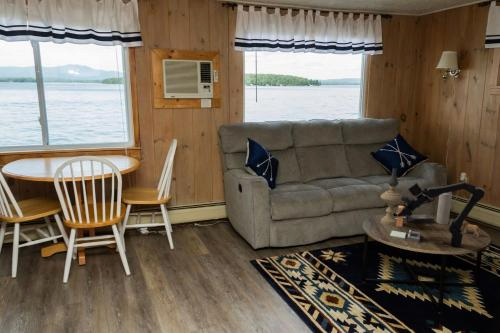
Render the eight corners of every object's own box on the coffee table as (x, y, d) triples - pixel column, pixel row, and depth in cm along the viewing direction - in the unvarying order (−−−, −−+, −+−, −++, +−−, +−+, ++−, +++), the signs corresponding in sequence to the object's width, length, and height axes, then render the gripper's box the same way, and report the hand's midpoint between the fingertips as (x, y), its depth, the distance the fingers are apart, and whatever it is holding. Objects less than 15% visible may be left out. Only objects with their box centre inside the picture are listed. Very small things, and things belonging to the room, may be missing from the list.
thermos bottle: (442, 220, 281) (447, 183, 276) (450, 224, 274) (455, 186, 268) (433, 221, 279) (438, 184, 273) (441, 225, 271) (446, 187, 266)
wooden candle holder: (403, 226, 265) (409, 171, 258) (382, 226, 265) (388, 170, 257) (395, 219, 280) (401, 166, 272) (375, 219, 280) (380, 166, 272)
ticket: (402, 224, 250) (404, 206, 248) (401, 226, 245) (403, 208, 243) (396, 223, 252) (398, 205, 249) (396, 225, 247) (398, 207, 244)
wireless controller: (423, 217, 288) (426, 196, 284) (434, 224, 274) (437, 201, 271) (399, 218, 285) (401, 196, 281) (409, 224, 271) (412, 201, 268)
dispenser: (420, 235, 250) (420, 231, 249) (419, 242, 238) (419, 238, 238) (408, 233, 253) (409, 229, 252) (406, 240, 242) (407, 236, 241)
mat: (406, 233, 252) (406, 233, 252) (404, 238, 244) (404, 237, 243) (391, 231, 256) (391, 230, 256) (390, 236, 247) (390, 235, 247)
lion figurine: (456, 232, 258) (458, 219, 257) (458, 229, 262) (460, 217, 261) (481, 237, 249) (483, 224, 248) (482, 235, 253) (484, 222, 252)
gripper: (410, 188, 250) (391, 201, 257) (408, 194, 234) (387, 209, 241) (422, 201, 248) (402, 214, 255) (420, 209, 232) (399, 223, 239)
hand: (398, 215), depth 248 cm, fingers closed on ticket, 5 cm apart
